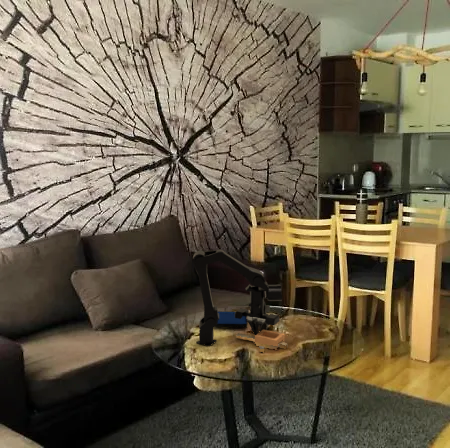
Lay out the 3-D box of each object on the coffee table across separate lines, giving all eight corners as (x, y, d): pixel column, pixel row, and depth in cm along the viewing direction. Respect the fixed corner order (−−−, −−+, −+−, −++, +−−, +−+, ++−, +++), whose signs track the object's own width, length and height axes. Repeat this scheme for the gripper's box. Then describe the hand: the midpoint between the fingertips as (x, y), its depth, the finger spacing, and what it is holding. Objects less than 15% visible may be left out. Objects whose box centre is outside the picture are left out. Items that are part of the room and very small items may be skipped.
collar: (276, 350, 229) (276, 340, 228) (254, 346, 234) (254, 335, 233) (284, 344, 236) (284, 333, 235) (263, 339, 240) (263, 329, 240)
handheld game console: (247, 321, 263) (248, 302, 261) (246, 331, 250) (246, 312, 248) (214, 320, 265) (214, 301, 263) (211, 330, 251) (211, 311, 250)
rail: (276, 356, 223) (277, 350, 223) (227, 345, 234) (227, 339, 234) (294, 341, 239) (294, 335, 238) (247, 331, 250) (247, 325, 250)
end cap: (266, 335, 245) (266, 320, 244) (251, 334, 247) (251, 319, 246) (270, 327, 255) (271, 313, 253) (255, 326, 257) (255, 312, 255)
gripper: (285, 298, 237) (284, 333, 239) (246, 292, 246) (246, 325, 249) (274, 306, 227) (273, 342, 230) (233, 299, 236) (233, 334, 239)
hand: (256, 335), depth 237 cm, fingers closed
